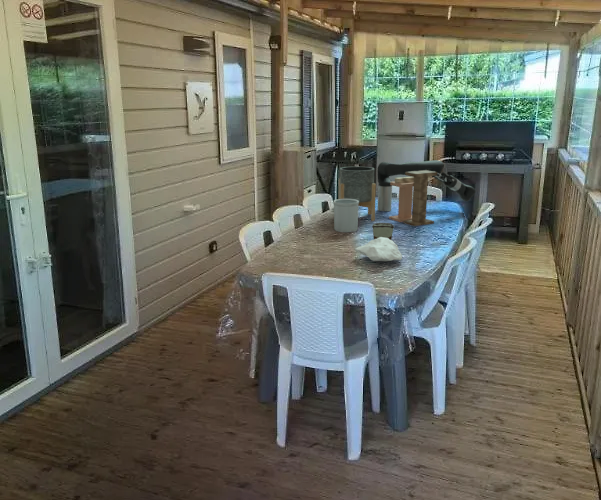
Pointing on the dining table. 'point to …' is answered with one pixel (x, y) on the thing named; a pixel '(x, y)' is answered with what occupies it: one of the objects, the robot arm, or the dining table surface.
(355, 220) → the utensil holder
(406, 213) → the terracotta base stand
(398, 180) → the beech bar
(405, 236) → the dining table surface
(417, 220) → the walnut base stand
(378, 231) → the food container
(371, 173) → the planter
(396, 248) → the crumpled cloth
